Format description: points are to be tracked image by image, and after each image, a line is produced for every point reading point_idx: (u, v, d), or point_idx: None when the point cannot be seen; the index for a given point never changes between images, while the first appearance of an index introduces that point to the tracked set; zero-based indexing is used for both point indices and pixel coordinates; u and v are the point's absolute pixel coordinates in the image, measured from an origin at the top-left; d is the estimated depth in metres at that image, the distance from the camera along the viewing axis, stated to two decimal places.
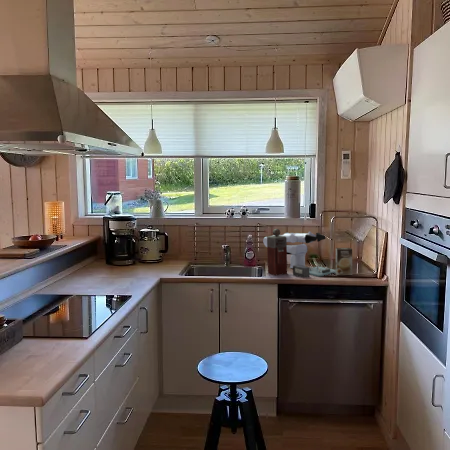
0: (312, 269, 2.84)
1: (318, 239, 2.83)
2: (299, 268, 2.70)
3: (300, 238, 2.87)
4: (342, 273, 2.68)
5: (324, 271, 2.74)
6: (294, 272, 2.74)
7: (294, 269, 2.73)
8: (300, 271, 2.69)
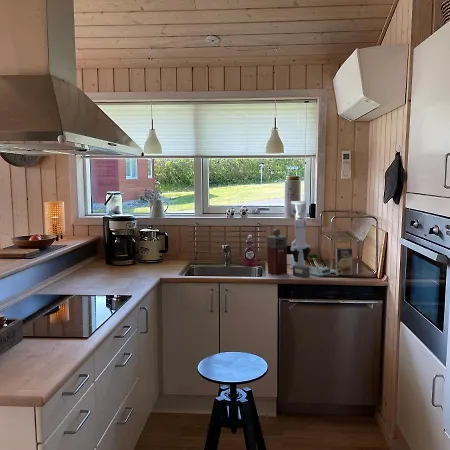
0: (312, 269, 2.84)
1: (303, 251, 2.73)
2: (299, 268, 2.70)
3: None
4: (342, 273, 2.68)
5: (324, 271, 2.74)
6: (294, 272, 2.74)
7: (294, 269, 2.73)
8: (300, 271, 2.69)
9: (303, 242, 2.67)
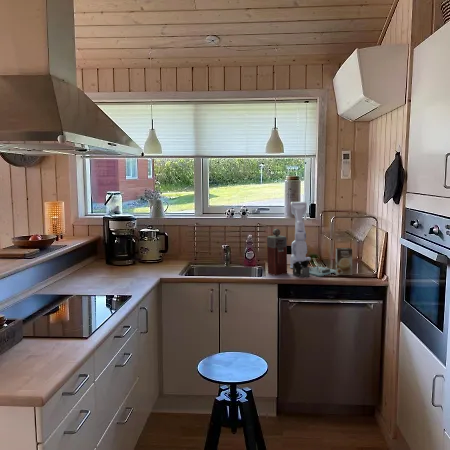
0: (312, 269, 2.84)
1: (302, 263, 2.74)
2: None
3: (295, 249, 2.71)
4: (342, 273, 2.68)
5: (324, 271, 2.74)
6: (294, 272, 2.73)
7: (294, 269, 2.73)
8: (300, 270, 2.69)
9: (303, 255, 2.68)
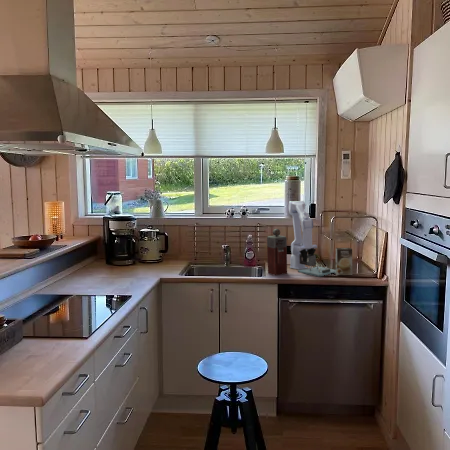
0: (312, 269, 2.84)
1: (308, 251, 2.76)
2: None
3: None
4: (342, 273, 2.68)
5: (324, 271, 2.74)
6: (301, 260, 2.76)
7: (301, 257, 2.76)
8: (307, 259, 2.71)
9: (310, 242, 2.71)
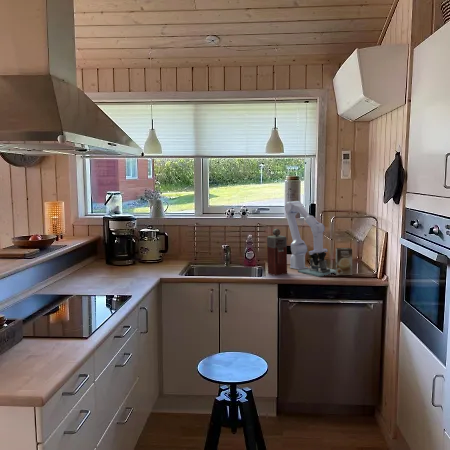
0: (312, 269, 2.84)
1: (319, 255, 2.82)
2: None
3: (314, 241, 2.77)
4: (342, 273, 2.68)
5: (324, 271, 2.74)
6: (311, 265, 2.82)
7: (311, 262, 2.82)
8: (318, 264, 2.77)
9: (321, 246, 2.76)
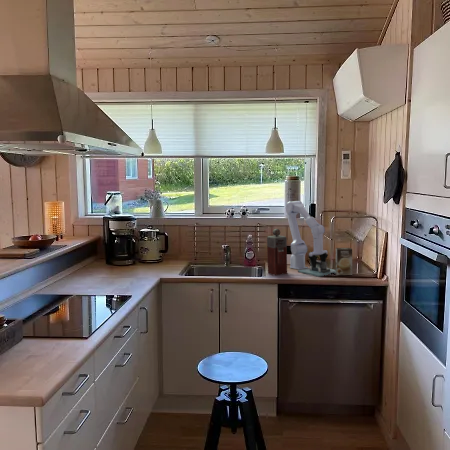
0: None
1: (321, 256, 2.82)
2: (316, 263, 2.78)
3: (314, 243, 2.77)
4: (342, 273, 2.68)
5: (324, 271, 2.74)
6: None
7: (311, 264, 2.82)
8: (318, 265, 2.77)
9: (321, 248, 2.76)
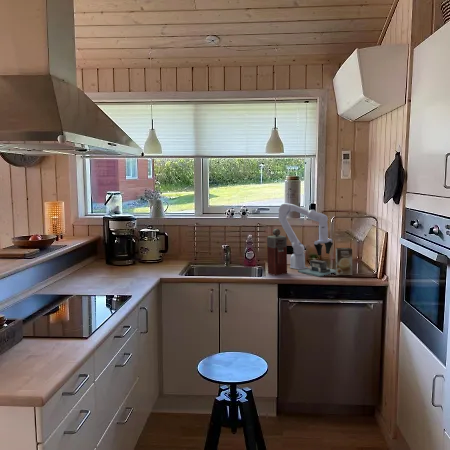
0: None
1: (326, 245, 2.92)
2: (316, 263, 2.78)
3: (322, 232, 2.85)
4: (342, 273, 2.68)
5: (324, 271, 2.74)
6: None
7: (311, 264, 2.82)
8: (318, 265, 2.77)
9: (326, 236, 2.85)
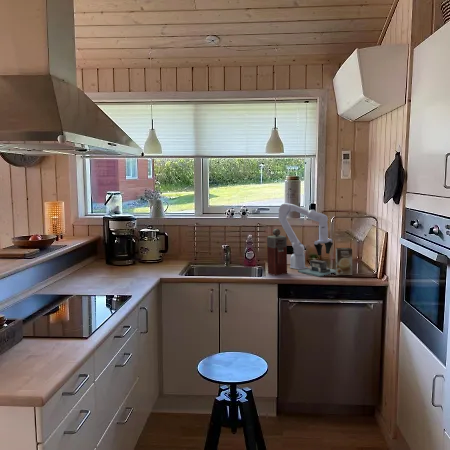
0: None
1: (326, 245, 2.92)
2: (316, 263, 2.78)
3: (323, 232, 2.85)
4: (342, 273, 2.68)
5: (324, 271, 2.74)
6: None
7: (311, 264, 2.82)
8: (318, 265, 2.77)
9: (326, 236, 2.85)
